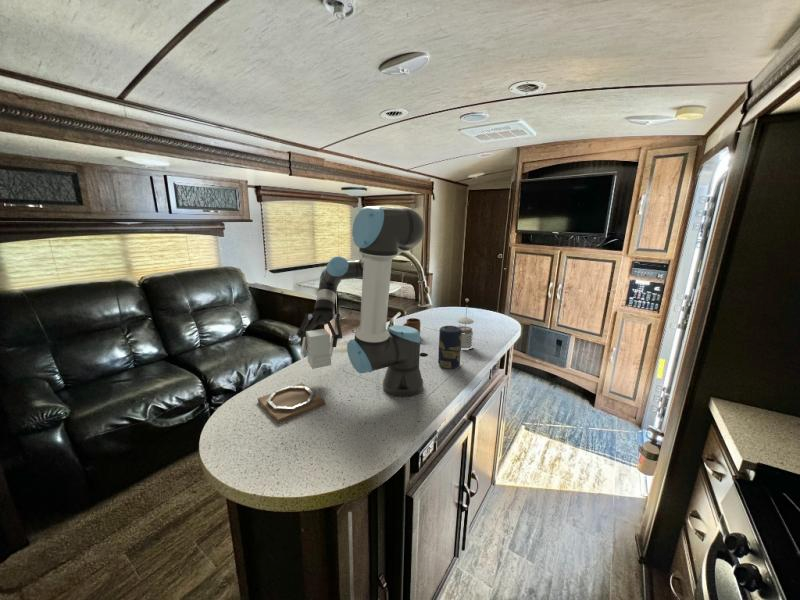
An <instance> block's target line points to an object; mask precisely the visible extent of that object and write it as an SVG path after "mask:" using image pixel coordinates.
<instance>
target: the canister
mask: <svg viewBox="0 0 800 600" xmlns="http://www.w3.org/2000/svg"><path fill="white" fill-rule="evenodd" d="M459 327H460V326H459ZM459 327H458V326H455V325H444V326H443V325H442V326H441V327H440V328H439V334H438V335H439V336H438V359H437V363H438V365H439V366H441V367H443V368H445V369H456V368H458V367H459V366H460V364H461V353H462V352H461V351H462V350H461V339H462V334H463V333H462V330H461V329H460V328H459ZM455 367H456V368H455Z"/></svg>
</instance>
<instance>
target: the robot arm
mask: <svg viewBox="0 0 800 600" xmlns="http://www.w3.org/2000/svg"><path fill="white" fill-rule="evenodd" d="M421 216H422V215H420V214H419V213H418V212H417V211H416V210H414V209H411V208H409V207H394V206H393V207H392V206H380V205H375V206H374V205H372V206H370V205H369V206H364V207H361V208H360V209H359V210H358V212H357V213H356V214H355V217H354V220H353V224H352V233H351V234H352V237H353V240H352V241H353V243H354V244H355V246H356V247H358V248H359V250H358V251H359V253H360V254H361V255H362V256H363V257H362V258H361V259H356V260H355V259H354V260H347V259H346V258H345V257H342V256H340V255H336V256H333V257H332V258H331V259H330V260H329V262H327V265H326V268H325V269H323V270H322V271H321V273H320V277H319V285H318V290H317V294H316V299H315V303H314V308H313V312H312V313H308V312H305V314H304V319H303V321H302V323H301V324H300V326H299V328H298V330H297V332H296V336H297V337H298V338H299V339H300V341H299V346H300V347H301V348H300V349H301V350H300V355H301V356H302V357H305V354H306V352H307V340H306V331H312V330H315V328H316V327H317V326H319V325H320V326H321V325H324V326H325V325H327V326H328V328H329V330H330V332H331V335H332V336H333V337H331V336H330V349H329V355H330V356H331V357H333V353H334V348H337V343H338V340H339V339H340V340H341V339H343V332H342V331H343V330H342V325H341V319H342V317H341V314H340V313H335V314H334V312H335V304H336V297H337V291H338V286H339V284H340V283H341V282H342V280H353V279H362V282H361V283H362V285H361V300H360V317H359V327H358V328H357V329H356V330H355V331H354V339H351V340H349V341H348V342H347V347H346V349H347V355H348V358H349V361H350V363H351V365H352V367H353V368H354V370H355V371H356V372H357V373H359V374H367V373H372V372H374V371H378V370H381V369H386V371H385V374H384V377H383V379H382V389H383V390H384V391H385V392H386V393H387V394H389V395H391V396H394V397H395V396H396V397H401V398H402V397H404V398H405V397H412V396H416V395H418V394H420V393H421V392H422V391H423V390H424V389H423V388H424V379H423V378H422V373H421V369H420V357H421V355H420V352H421V332H420V333H419V331H418V330H416V329H415V328H412V327H408V326H403V325H400V324H398V325H397V324H396V325H394V324H392V325H390V326H389V327H388V328H387V319H388V309H389V307H388V306H389V298H390V297H389V295H390V286H391V285H390V284H391V273H392V263H393V259H395V258H396V257H397V256H399V255H400V254H401V253H403V252H408V251H411V250H412V249H414V248H415V247H416V246H418V245H419V243H421V242H422V239H423V238H424V236H425V230H426V229H425V223H424V220H423V218H422V217H421ZM312 318H313V319H312ZM333 319H334V320H335V323H336V328H337V333H336V331H335V330H334V327H333V325H332V322H331V321H332V320H333ZM310 321H311V323H310ZM309 323H310V324H309Z"/></svg>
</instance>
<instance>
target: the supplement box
mask: <svg viewBox="0 0 800 600" xmlns="http://www.w3.org/2000/svg"><path fill="white" fill-rule="evenodd" d="M306 340H307V345H306V355H307V356H306V357H307V363H308V364H309V365H310V367H311V369H312V370H314V369H319V368H325V367H330V366H332V356H330V355H329V349H330V342H331V334H330V332H328V331H327V330H326V329H325V328H320V329H313V330H312V331H306Z"/></svg>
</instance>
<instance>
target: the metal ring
mask: <svg viewBox="0 0 800 600" xmlns="http://www.w3.org/2000/svg"><path fill="white" fill-rule="evenodd" d="M306 386H307V385H305V386H294V385H289V386H286V387H283V388H280V389H278V390H274V391H273V392H272V393H270V394H271V396H270V397H269V398H268V400H267V404H268V405H269V406H270V407H271V408H272V409H273V410H274V411H292V412H293V411H295V410H298V409H300V408H302V407H305V406H307V405H310V403H311V401H312V399H313V397H314V392H315V391H314V390H312V389H311V388H310V387H308V386H307V387H308V388H307V387H306ZM310 389H311V390H312V391H311V390H310ZM289 390H304V391H306V392H307V393H308V394H309V395H310V396H309V398H308V400H307V401H306V402H303V403H301V404H298V405H296V406H293V407H280V406H276V405H275V404H274V403H273V402H272V400H273V399H274V397H275V396H276V395H278V394H280V393H283V392H286V391H289Z"/></svg>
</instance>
